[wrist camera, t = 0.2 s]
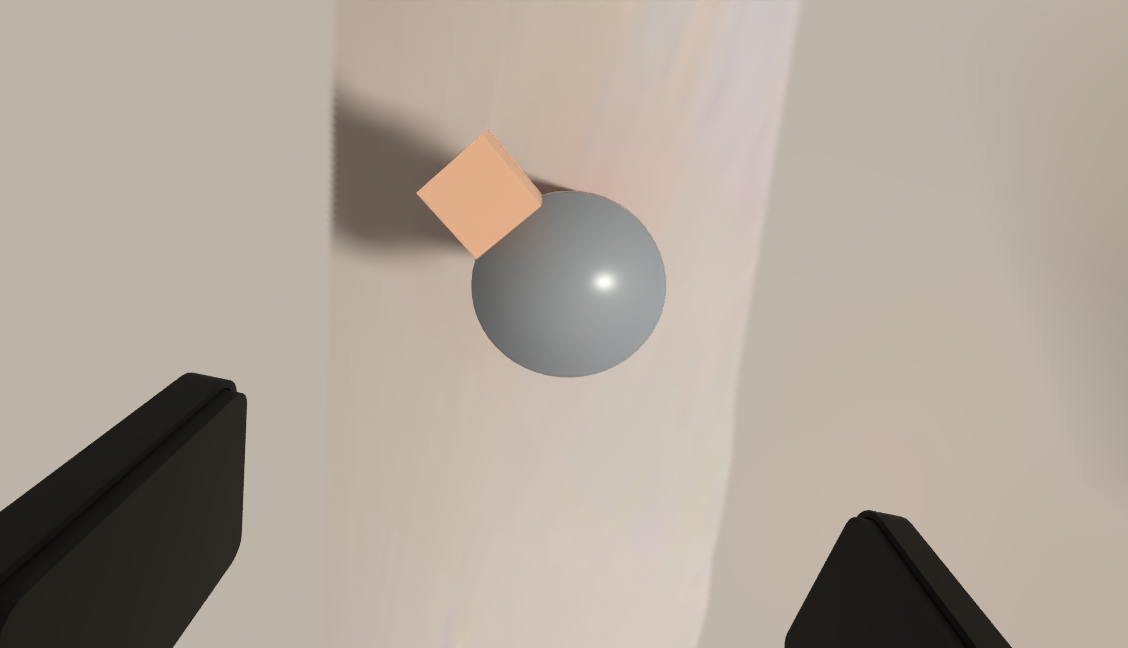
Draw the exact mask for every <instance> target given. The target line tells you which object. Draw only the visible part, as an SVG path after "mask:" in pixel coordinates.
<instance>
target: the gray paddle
mask: <svg viewBox="0 0 1128 648" xmlns="http://www.w3.org/2000/svg"><path fill="white" fill-rule="evenodd" d="M417 194H418V196H419V197H420V198H421V199H422V200H423V201H424V202H425V203H426V204H427V206H428V207H429V208H430V209H431V210H432V211H433V212H434V213H435V214H436V215H437V217H438V218H439V219H440V220H441V221H442V222H443V223H444V224H445V225H446V226H447V228H448V229H449V230H450V231H451V232H452V233H453V234H454V235H455V236H456V237H457V239H458V240H459V241H460V242H461V243H462V244H463V245H464V246H465V247H466V249H467V250H468V251H469V252H470V253H471V254H472V255H473V256H474V257H475V258H476V260H475V264H474V268H473V273H472V298H473V304H474V308H475V312H476V315H477V318H478V320H479V322H480V324H481V326H482V328H483V330H484V332H485V333H486V335H487V336H488V338H489V339H490V340H491V341H492V343H493V344H494V345H495V346H496V347H497V348H498V349H499V350H500V351H501V352H502V353H503V354H504V355H505V356H507V357H508V358H510V359H511V360H512V361H514V362H515V363H517V364H519V365H521V366H523V367H524V368H527V369H529V370H532V371H534V372H537V373H541V374H544V375H549V376H556V377H582V376H587V375H592V374H596V373H599V372H602V371H605V370H608V369H610V368H612V367H614V366H616V365H618V364H620V363H621V362H623V361H625V360H626V359H628V358H629V357H630V356H631V355H633V354H634V353H635V352H636V351H637V350H638V349H639V348H640V347H641V346H642V345H643V344H644V343H645V342H646V340H647V339H648V338H649V336H650V335H651V334H652V332H653V330H654V328H655V327H656V325H657V323H658V321H659V318H660V316H661V313H662V310H663V306H664V302H665V294H666V275H665V269H664V264H663V261H662V257H661V254H660V252H659V250H658V248H657V245H656V243H655V241H654V240H653V238H652V236H651V235H650V233H649V232H648V230H647V229H646V227H645V226H644V225H643V224H642V223H641V222H640V221H639V219H638V218H637V217H635V216H634V215H633V214H632V213H631V212H630V211H628V210H627V209H626V208H624V207H623V206H621V205H619V204H618V203H616V202H614V201H612V200H610V199H608V198H606V197H603V196H599V195H596V194H593V193H588V192H582V191H557V192H550V193H546V194H541V193H540V191H539V190H538V189H537V188H536V187H535V185H534V184H533V183H532V182H531V180H530V179H529V178H528V177H527V176H526V174H525V173H524V172H523V171H522V169H521V168H520V167H519V166H518V165H517V163H516V162H515V161H514V160H513V159H512V157H511V156H510V155H509V154H508V152H507V151H506V150H505V149H504V148H503V146H502V145H501V144H500V143H499V141H498V140H497V139H496V138H495V137H494V135H493V134H492V133H491V132H490V131H489V130H487V131H486V132H484V133H483V134H482V135H481V136H479V137H478V138H477V139H476V140H475V141H474V142H473V143H472V144H470V145H469V146H468V147H467V148H466V149H465V150H464V151H463V152H461V153H460V154H459V155H458V156H457V157H456V158H455V159H454V160H453V161H451V162H450V163H449V164H448V165H447V166H446V167H445V168H444V169H442V170H441V171H440V172H439V173H438V174H437V175H436V176H435V177H434V178H432V179H431V180H430V181H429V182H428V183H427V184H426V185H425V186H423V187H422V188H421V189H420V190H419V191H418V192H417Z"/></svg>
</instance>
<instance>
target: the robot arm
mask: <svg viewBox="0 0 1128 648" xmlns="http://www.w3.org/2000/svg"><path fill="white" fill-rule="evenodd" d="M246 415H247V399H246V396H245V395H244V394H243V393H239V392H237V390H236V386H235V383H234V382H232V381H231V380H226V379H222V378H217V377H212V376H207V375H202V374H197V373H186V374H184V375H182V376H181V377H179V378H178V379H177V380H176V381H174V382H173V383H171V384H170V385H169V386H167V387H166V388H165V389H163V390H162V391H161V392H159V393H158V394H157V395H155V396H154V397H153V398H152V399H150V400H149V401H147V402H146V403H145V404H144V405H142V406H141V407H140V408H138V409H137V410H135V411H134V412H133V413H131V414H130V415H129V416H127V417H126V418H125V419H124V420H122V421H121V422H120V423H118V424H117V425H116V426H114V427H113V428H111V429H110V430H109V431H107V432H106V433H105V434H103V435H102V436H101V437H100V438H98V439H97V440H95V441H94V442H93V443H91V444H90V445H89V446H87V447H86V448H85V449H83V450H82V451H81V452H79V453H78V454H77V455H75V456H74V457H73V458H71V459H70V460H69V461H68V462H66V463H65V464H63V465H62V466H61V467H59V468H58V469H57V470H55V471H54V472H53V473H51V474H50V475H49V476H47V477H46V478H45V479H43V480H42V481H41V482H40V483H38V484H37V485H35V486H34V487H33V488H31V489H30V490H29V491H27V492H26V493H25V494H24V495H22V496H21V497H19V498H18V499H17V500H16V501H14V502H13V503H11V504H10V505H9V506H7V507H6V508H5V509H3V510H2V511H1V512H0V648H173V646H174V645H175V644H176V642H177V641H178V639H179V638H180V637H181V635H182V634H183V632H184V631H185V629H186V628H187V626H188V625H189V624H190V622H191V621H192V619H193V618H194V616H195V615H196V614H197V612H198V611H199V609H200V608H201V606H202V605H203V603H204V602H205V601H206V599H207V598H208V596H209V595H210V594H211V592H212V591H213V589H214V588H215V586H216V585H217V584H218V582H219V581H220V579H221V578H222V576H223V575H224V573H225V572H226V571H227V569H228V568H229V566H230V565H231V563H232V562H233V560H234V558H235V556H236V554H237V551H238V549H239V546H240V542H241V536H242V513H243V512H242V511H243V487H244V464H245V439H246ZM785 648H1012V647H1011V646H1010V645H1009V644H1008V642H1007V641H1006V640H1005V639H1004V638H1003V636H1002V635H1001V634H1000V632H999V631H998V630H997V629H996V628H995V627H994V625H993V624H992V623H991V621H990V620H989V619H988V618H987V617H986V615H985V614H984V613H983V611H982V610H981V609H980V608H979V607H978V605H977V604H976V603H975V602H974V601H973V599H972V598H971V597H970V595H969V594H968V593H967V592H966V591H965V589H964V588H963V587H962V586H961V584H960V583H959V582H958V581H957V579H956V578H955V577H954V576H953V574H952V573H951V572H950V571H949V569H948V568H947V567H946V566H945V564H944V563H943V562H942V561H941V560H940V558H939V557H938V556H937V555H936V553H935V552H934V551H933V550H932V548H931V547H930V546H929V545H928V544H927V542H926V541H925V540H924V539H923V537H922V536H921V535H920V534H919V532H918V531H917V530H916V529H915V528H914V526H913V525H912V524H911V523H910V522H909V521H908V520H907V519H906V518H903V517H900V516H895V515H891V514H886V513H881V512H876V511H871V510H867V511H863V512H861V513H860V514H859V515H858V516H857V517H853V518H851V519H850V520H849V521H848V522H847V523H846V525H845V527H844V529H843V531H842V533H841V534H840V536H839V538H838V540H837V542H836V544H835V545H834V547H833V549H832V551H831V553H830V555H829V557H828V558H827V561H826V562H825V564H824V566H823V568H822V570H821V571H820V573H819V575H818V577H817V579H816V581H815V583H814V585H813V587H812V588H811V590H810V592H809V594H808V596H807V598H806V599H805V601H804V603H803V605H802V607H801V609H800V610H799V612H798V614H797V616H796V618H795V620H794V622H793V624H792V625H791V627H790V629H789V631H788V633H787V635H786V639H785Z"/></svg>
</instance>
